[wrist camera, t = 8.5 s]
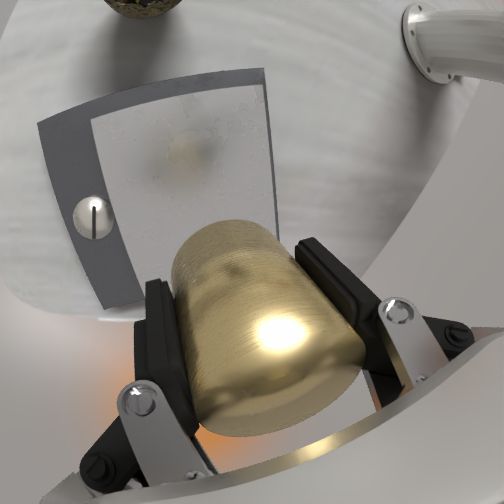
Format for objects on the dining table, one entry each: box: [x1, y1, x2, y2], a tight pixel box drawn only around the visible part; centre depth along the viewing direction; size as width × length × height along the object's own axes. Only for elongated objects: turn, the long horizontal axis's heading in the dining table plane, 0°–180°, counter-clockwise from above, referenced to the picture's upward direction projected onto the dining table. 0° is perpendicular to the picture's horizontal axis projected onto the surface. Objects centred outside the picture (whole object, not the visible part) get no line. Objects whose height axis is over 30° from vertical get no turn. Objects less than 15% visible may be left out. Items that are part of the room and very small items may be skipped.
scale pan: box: [91, 84, 277, 296], centre depth 20 cm, size 12×15×1 cm
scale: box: [37, 68, 280, 309], centre depth 22 cm, size 18×18×4 cm
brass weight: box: [171, 219, 366, 437], centre depth 9 cm, size 5×5×6 cm
